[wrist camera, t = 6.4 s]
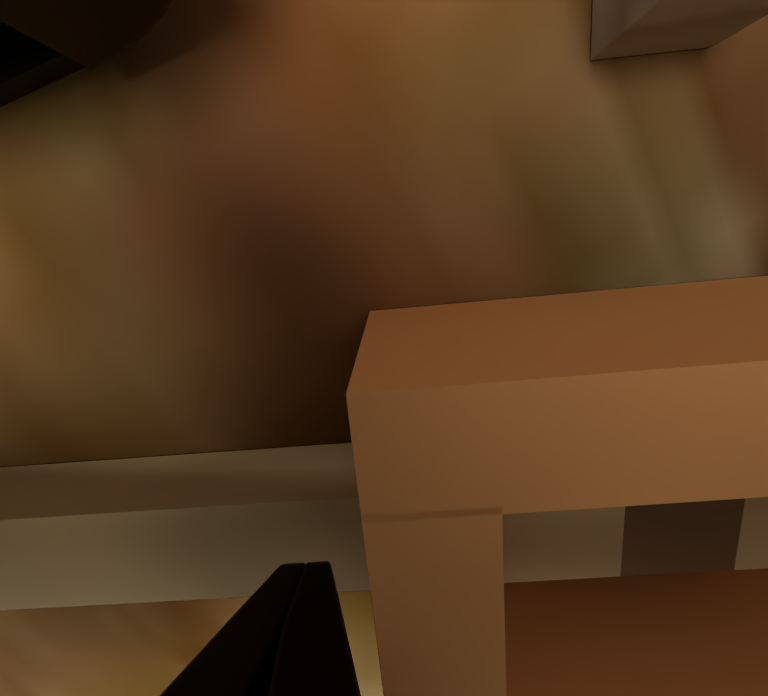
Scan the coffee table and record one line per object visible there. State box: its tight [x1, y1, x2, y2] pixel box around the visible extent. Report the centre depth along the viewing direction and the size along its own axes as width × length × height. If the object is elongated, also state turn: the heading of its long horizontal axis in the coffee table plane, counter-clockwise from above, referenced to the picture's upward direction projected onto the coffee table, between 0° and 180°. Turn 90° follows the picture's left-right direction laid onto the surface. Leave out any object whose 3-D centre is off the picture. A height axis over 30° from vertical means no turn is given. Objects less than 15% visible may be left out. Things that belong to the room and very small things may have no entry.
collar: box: [346, 276, 768, 696], centre depth 7 cm, size 8×10×4 cm
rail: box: [0, 0, 768, 610], centre depth 8 cm, size 18×23×2 cm
